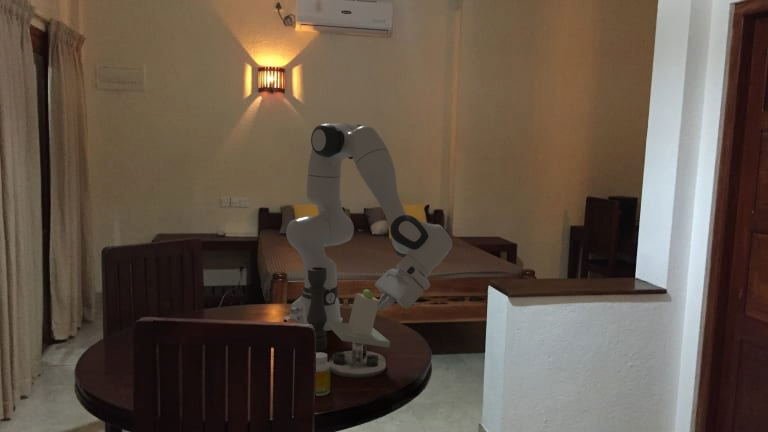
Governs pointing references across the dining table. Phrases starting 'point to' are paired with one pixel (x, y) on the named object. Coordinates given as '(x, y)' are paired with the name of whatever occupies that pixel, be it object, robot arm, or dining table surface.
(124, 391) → the dining table surface
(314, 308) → the candle holder
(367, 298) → the white stepped fixture
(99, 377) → the dining table surface
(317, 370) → the supplement bottle
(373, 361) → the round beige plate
